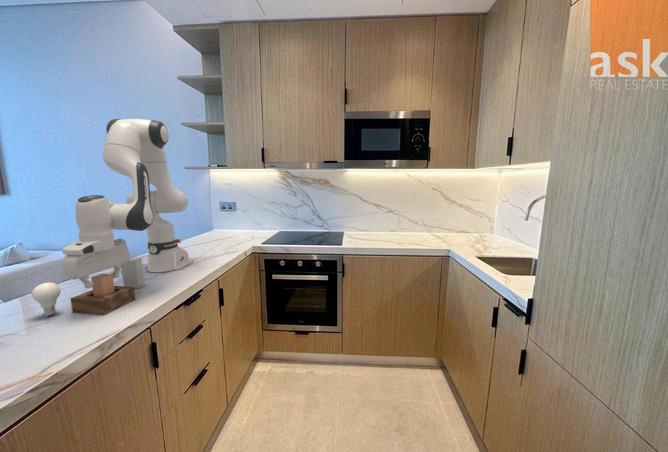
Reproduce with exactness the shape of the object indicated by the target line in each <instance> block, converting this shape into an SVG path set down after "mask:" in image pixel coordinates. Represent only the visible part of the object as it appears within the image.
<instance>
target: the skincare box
mask: <svg viewBox="0 0 668 452" xmlns="http://www.w3.org/2000/svg"><path fill="white" fill-rule="evenodd" d="M120 271H121V274H122V281H123V286H127V287H134V289H140V288H142V287H144V286H145V285H146V282H145V275H144V267H143V260H142V257H130V260H129V262H126V263H123V264H121V269H120Z"/></svg>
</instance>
